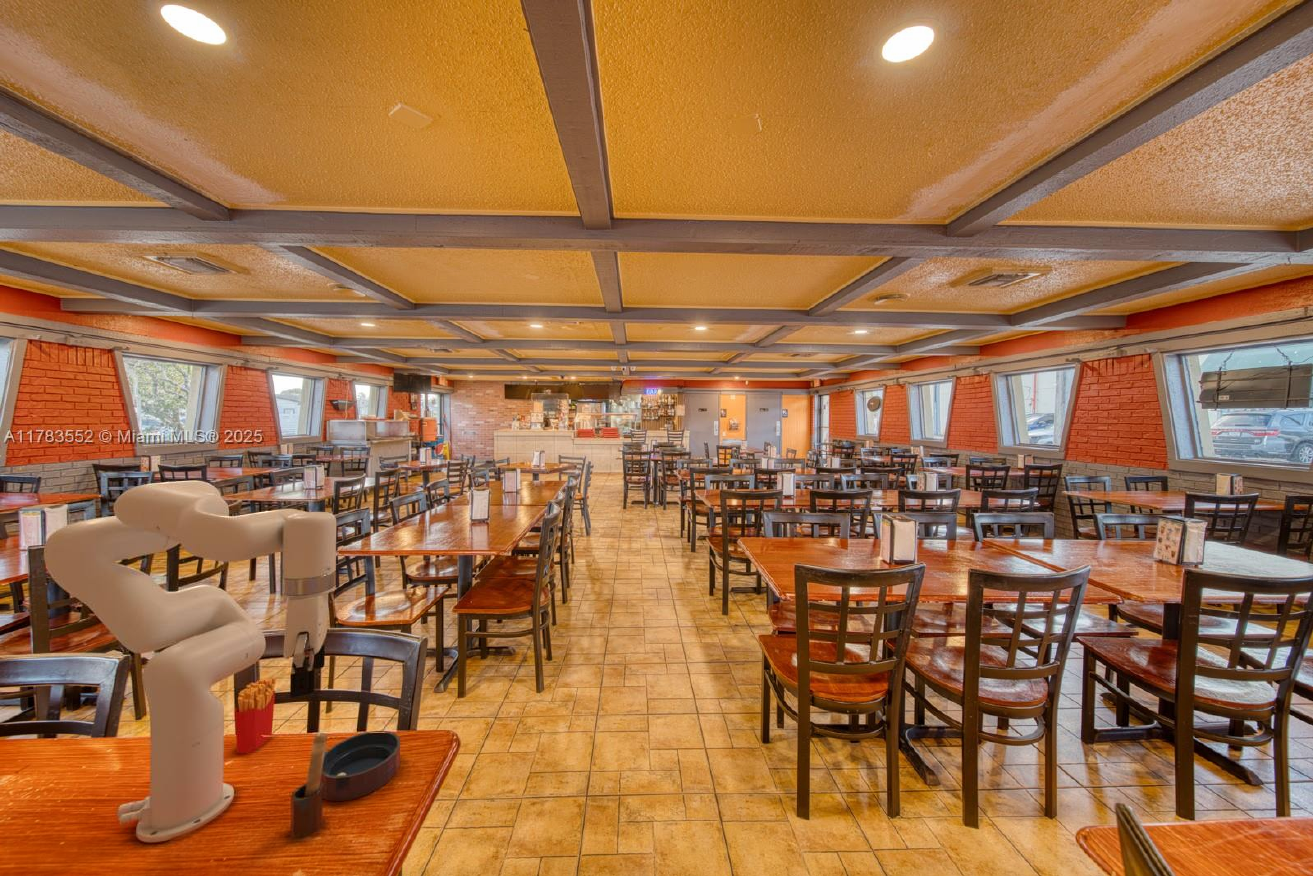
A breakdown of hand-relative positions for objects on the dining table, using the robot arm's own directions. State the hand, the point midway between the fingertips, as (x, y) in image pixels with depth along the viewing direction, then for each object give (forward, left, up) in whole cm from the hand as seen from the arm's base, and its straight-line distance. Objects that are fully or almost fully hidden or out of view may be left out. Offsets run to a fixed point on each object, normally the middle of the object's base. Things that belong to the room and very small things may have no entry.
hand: (308, 681), depth 82 cm
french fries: (-15, +34, -26) cm, 45 cm away
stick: (0, 0, -26) cm, 26 cm away
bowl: (+7, +11, -26) cm, 29 cm away
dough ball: (+4, +9, -25) cm, 27 cm away
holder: (0, 0, -26) cm, 26 cm away
